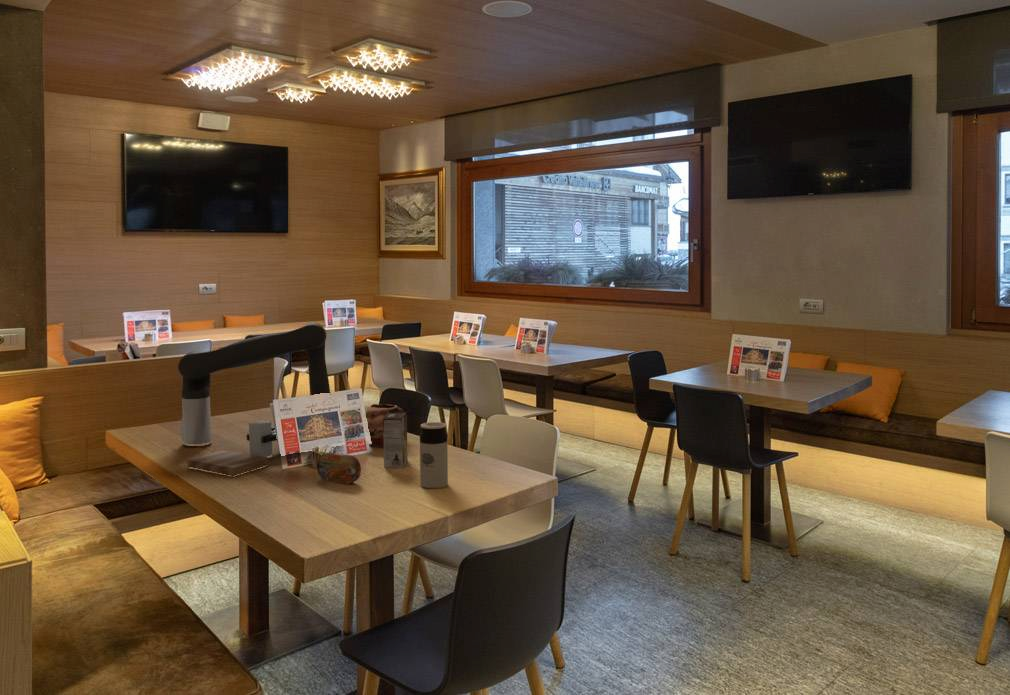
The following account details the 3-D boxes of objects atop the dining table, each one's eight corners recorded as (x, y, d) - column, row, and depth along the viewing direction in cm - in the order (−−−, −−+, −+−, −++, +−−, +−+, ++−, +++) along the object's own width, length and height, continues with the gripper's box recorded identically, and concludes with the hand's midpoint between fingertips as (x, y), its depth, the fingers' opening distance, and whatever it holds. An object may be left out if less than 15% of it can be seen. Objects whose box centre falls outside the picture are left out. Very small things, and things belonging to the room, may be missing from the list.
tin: (316, 479, 232) (315, 452, 231) (323, 477, 235) (322, 449, 234) (356, 486, 225) (355, 458, 224) (362, 483, 228) (362, 455, 227)
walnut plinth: (187, 469, 244) (187, 459, 243) (223, 459, 256) (222, 450, 255) (233, 477, 234) (232, 467, 234) (267, 466, 246) (267, 457, 246)
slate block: (250, 458, 256) (248, 423, 255) (261, 455, 261) (260, 420, 259) (261, 460, 254) (259, 424, 252) (272, 457, 258) (271, 422, 257)
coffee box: (388, 460, 254) (387, 412, 252) (407, 460, 254) (407, 412, 252) (383, 467, 245) (382, 418, 243) (403, 468, 245) (403, 418, 243)
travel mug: (433, 479, 231) (433, 420, 229) (453, 484, 226) (452, 424, 224) (414, 485, 225) (413, 425, 223) (434, 490, 220) (433, 428, 218)
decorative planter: (388, 436, 290) (387, 399, 288) (415, 439, 284) (414, 402, 283) (354, 447, 272) (353, 408, 271) (382, 451, 266) (382, 411, 265)
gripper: (275, 416, 272) (238, 425, 257) (306, 420, 265) (270, 429, 251) (276, 437, 273) (239, 447, 258) (307, 442, 266) (271, 452, 251)
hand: (255, 438), depth 254 cm, fingers open, 6 cm apart
